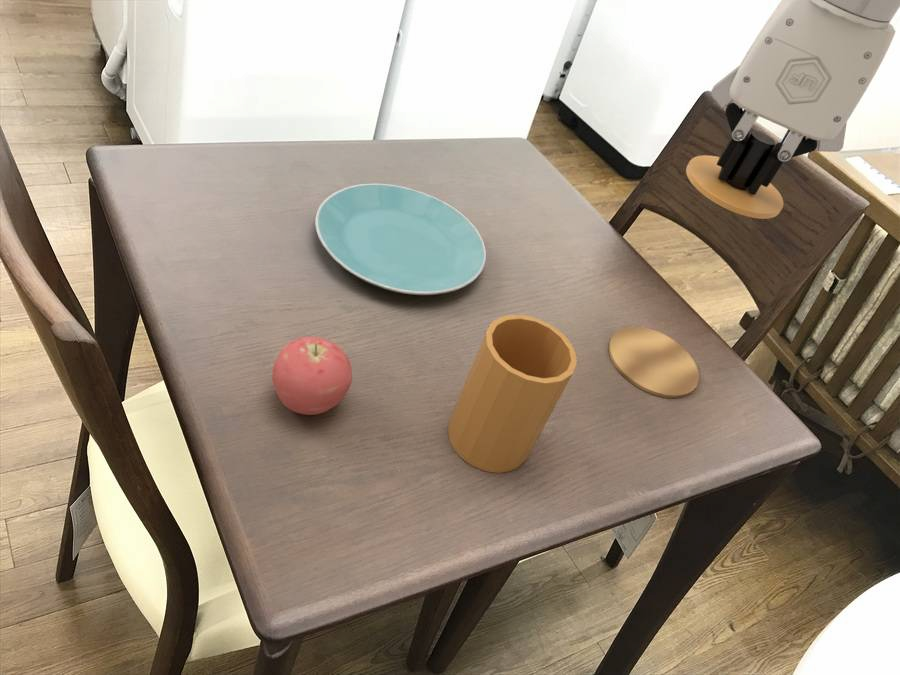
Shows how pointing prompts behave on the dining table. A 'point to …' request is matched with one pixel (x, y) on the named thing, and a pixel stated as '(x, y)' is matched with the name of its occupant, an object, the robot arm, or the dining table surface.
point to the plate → (400, 239)
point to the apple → (311, 375)
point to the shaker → (510, 392)
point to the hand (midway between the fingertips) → (738, 180)
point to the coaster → (653, 362)
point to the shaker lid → (738, 180)
